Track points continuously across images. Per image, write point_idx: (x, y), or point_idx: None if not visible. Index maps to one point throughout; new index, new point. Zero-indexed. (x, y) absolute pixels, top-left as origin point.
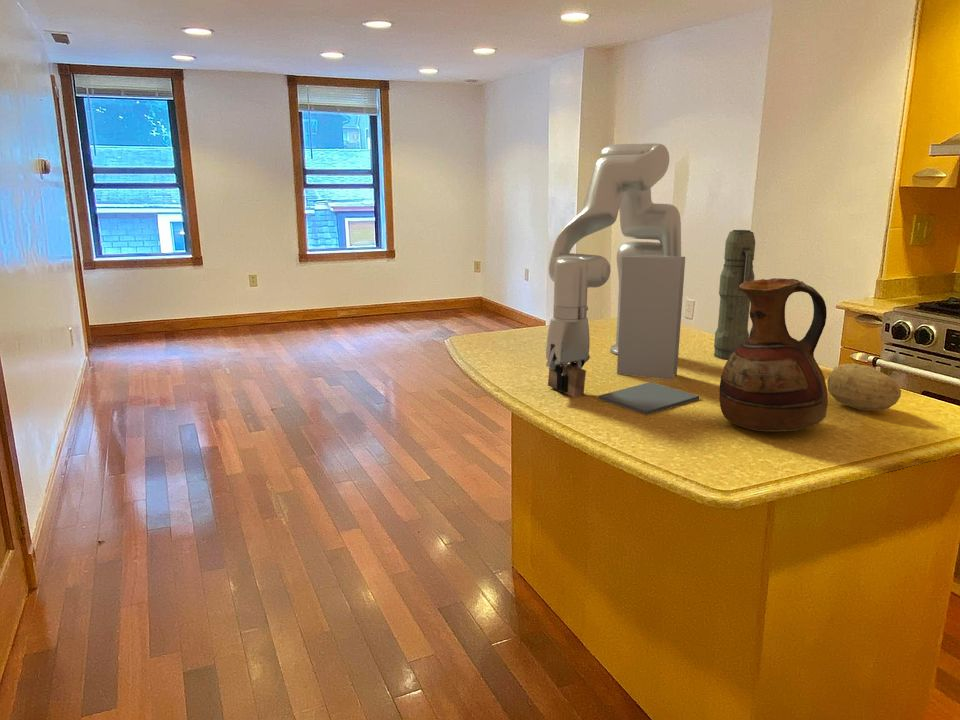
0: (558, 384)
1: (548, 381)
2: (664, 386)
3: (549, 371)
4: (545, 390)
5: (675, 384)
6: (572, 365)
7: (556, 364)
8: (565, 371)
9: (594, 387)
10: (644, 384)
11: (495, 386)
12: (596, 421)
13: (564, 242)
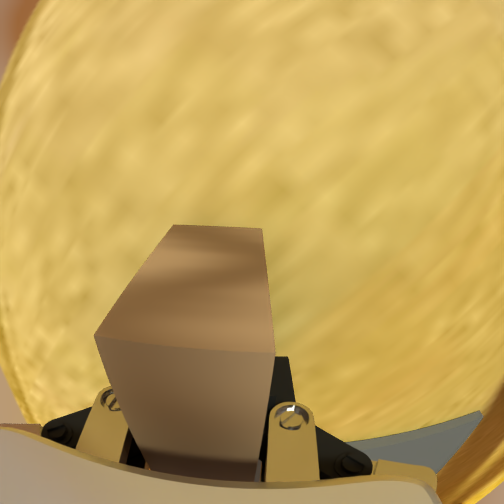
0: None
1: (166, 237)
2: (455, 450)
3: (139, 276)
4: (139, 243)
5: (497, 420)
6: (248, 473)
7: (82, 451)
8: (138, 462)
9: (382, 361)
10: (456, 429)
11: (20, 44)
12: None
13: None
